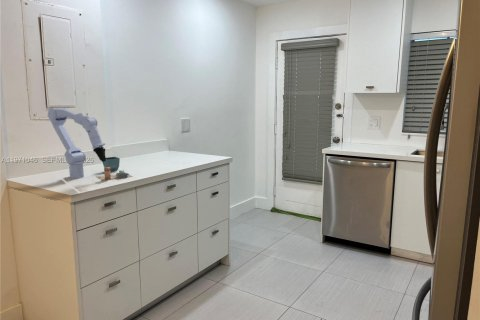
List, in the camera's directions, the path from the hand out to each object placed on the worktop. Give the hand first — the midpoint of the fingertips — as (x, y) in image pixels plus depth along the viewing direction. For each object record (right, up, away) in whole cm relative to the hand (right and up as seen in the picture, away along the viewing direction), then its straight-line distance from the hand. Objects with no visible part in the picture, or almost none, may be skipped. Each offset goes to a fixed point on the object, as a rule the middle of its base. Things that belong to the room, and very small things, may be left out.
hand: (103, 160), depth 205 cm
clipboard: (+2, -10, +12) cm, 16 cm away
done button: (+7, -8, +10) cm, 15 cm away
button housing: (+7, -10, +11) cm, 16 cm away
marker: (+1, -11, +5) cm, 12 cm away
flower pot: (-6, -7, +31) cm, 33 cm away
